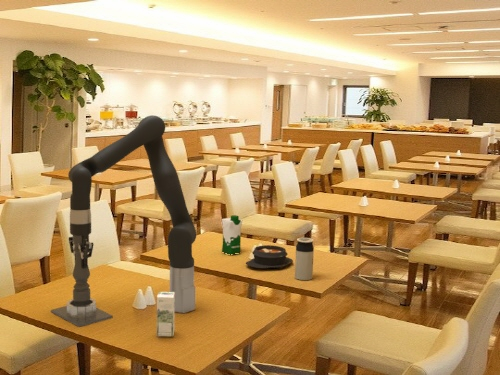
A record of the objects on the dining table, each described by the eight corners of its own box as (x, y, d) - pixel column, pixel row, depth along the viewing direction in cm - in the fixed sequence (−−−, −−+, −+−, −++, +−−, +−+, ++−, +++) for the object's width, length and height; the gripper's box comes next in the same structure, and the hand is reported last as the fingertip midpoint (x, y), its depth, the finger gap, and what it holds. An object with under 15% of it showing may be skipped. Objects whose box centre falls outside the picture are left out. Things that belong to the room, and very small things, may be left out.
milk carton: (229, 256, 321) (230, 217, 318) (219, 252, 328) (219, 214, 325) (243, 254, 327) (244, 216, 323) (232, 250, 333) (233, 212, 330)
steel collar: (112, 317, 233) (112, 305, 233) (78, 327, 224) (78, 314, 223) (84, 303, 247) (83, 291, 246) (50, 311, 237) (50, 299, 237)
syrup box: (174, 330, 223) (175, 291, 220) (173, 337, 217) (173, 296, 214) (158, 330, 222) (158, 290, 220) (156, 337, 217) (156, 296, 214)
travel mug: (292, 279, 286) (294, 240, 283) (297, 274, 293) (298, 236, 291) (310, 281, 283) (311, 242, 281) (314, 276, 291) (315, 238, 288)
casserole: (262, 274, 292) (263, 257, 291) (237, 265, 306) (237, 248, 305) (301, 266, 308) (302, 249, 307) (275, 257, 322) (276, 241, 321)
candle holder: (73, 301, 231) (71, 234, 227) (73, 296, 237) (71, 230, 233) (90, 300, 232) (89, 234, 228) (90, 295, 238) (89, 230, 234)
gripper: (100, 222, 228) (100, 269, 230) (79, 216, 237) (80, 260, 240) (81, 225, 222) (82, 273, 225) (61, 219, 232) (62, 264, 235)
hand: (81, 266), depth 233 cm, fingers closed on candle holder, 4 cm apart
